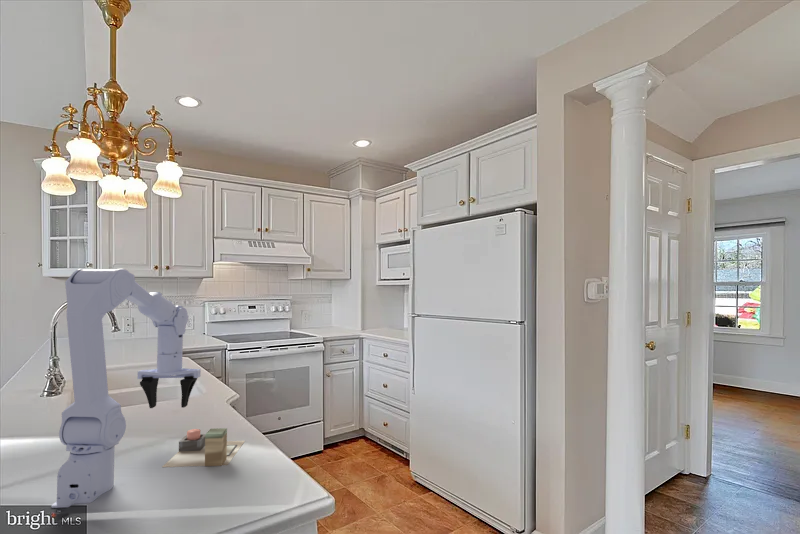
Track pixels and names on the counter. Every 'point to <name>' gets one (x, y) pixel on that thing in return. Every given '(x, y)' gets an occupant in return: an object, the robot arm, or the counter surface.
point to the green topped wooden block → (216, 447)
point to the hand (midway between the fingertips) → (168, 406)
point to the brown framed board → (198, 452)
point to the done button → (193, 434)
